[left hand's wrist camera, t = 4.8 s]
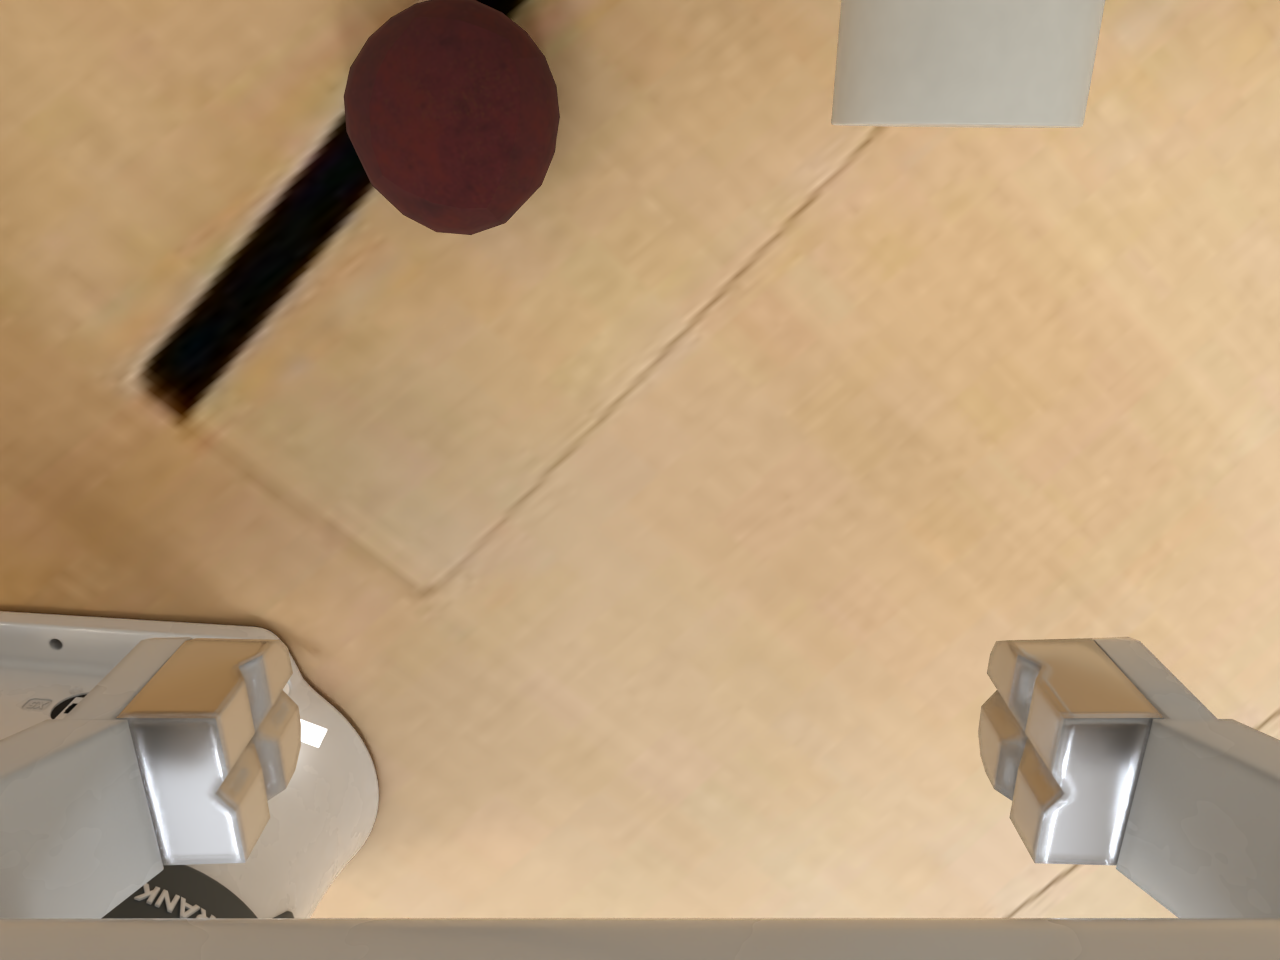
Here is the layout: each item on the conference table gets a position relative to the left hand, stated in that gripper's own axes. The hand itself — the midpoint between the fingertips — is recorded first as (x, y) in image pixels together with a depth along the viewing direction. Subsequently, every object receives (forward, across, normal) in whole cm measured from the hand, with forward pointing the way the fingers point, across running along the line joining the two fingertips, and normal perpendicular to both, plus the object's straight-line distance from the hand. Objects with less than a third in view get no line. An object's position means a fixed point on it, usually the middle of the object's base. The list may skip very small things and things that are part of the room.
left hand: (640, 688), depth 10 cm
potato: (+29, +7, -6) cm, 30 cm away
